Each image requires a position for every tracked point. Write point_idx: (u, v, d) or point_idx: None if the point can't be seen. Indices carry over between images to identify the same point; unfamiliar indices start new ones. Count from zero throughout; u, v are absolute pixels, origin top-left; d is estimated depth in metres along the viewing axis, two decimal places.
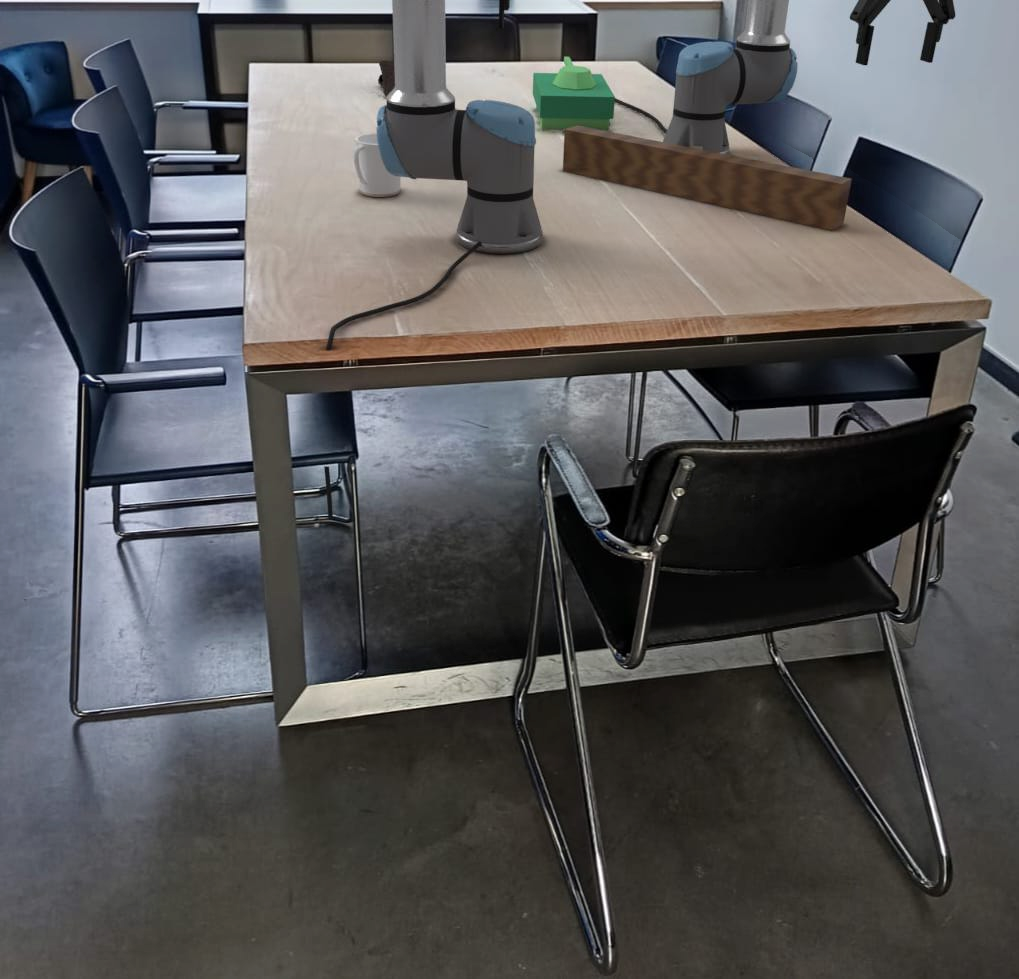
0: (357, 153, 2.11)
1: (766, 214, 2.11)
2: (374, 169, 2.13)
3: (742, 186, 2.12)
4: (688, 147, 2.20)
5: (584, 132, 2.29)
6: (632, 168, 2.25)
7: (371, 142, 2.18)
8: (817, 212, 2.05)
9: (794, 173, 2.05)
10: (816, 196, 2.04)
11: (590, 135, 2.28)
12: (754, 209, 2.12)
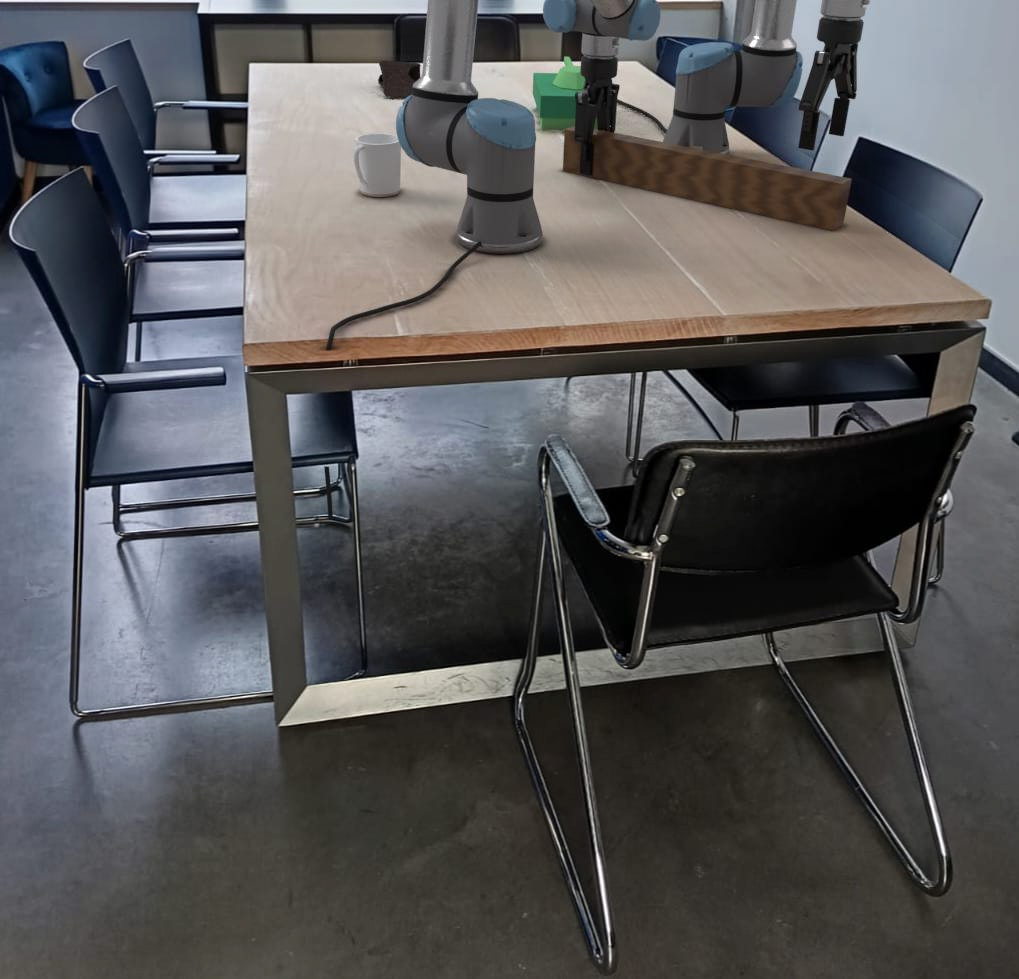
0: (357, 153, 2.11)
1: (766, 214, 2.11)
2: (374, 169, 2.13)
3: (742, 186, 2.12)
4: (688, 147, 2.20)
5: None
6: (632, 168, 2.25)
7: (371, 142, 2.18)
8: (817, 212, 2.05)
9: (794, 173, 2.05)
10: (816, 196, 2.04)
11: None
12: (754, 209, 2.12)
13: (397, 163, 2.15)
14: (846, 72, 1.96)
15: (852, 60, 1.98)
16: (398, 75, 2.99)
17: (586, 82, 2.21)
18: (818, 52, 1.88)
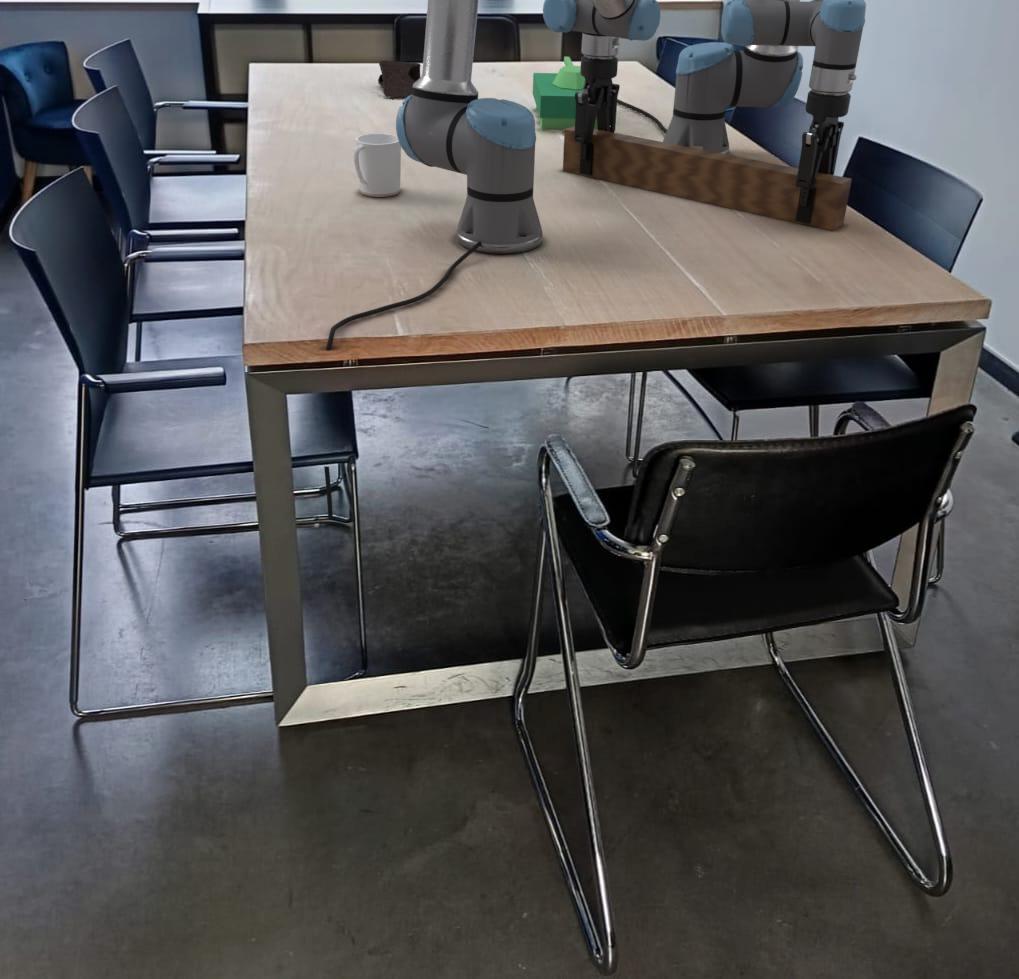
0: (357, 153, 2.11)
1: (766, 214, 2.11)
2: (374, 169, 2.13)
3: (742, 186, 2.12)
4: (688, 147, 2.20)
5: None
6: (632, 168, 2.25)
7: (371, 142, 2.18)
8: (817, 212, 2.05)
9: (794, 173, 2.05)
10: (816, 196, 2.04)
11: None
12: (754, 209, 2.12)
13: (397, 163, 2.15)
14: (830, 146, 2.02)
15: (836, 137, 2.04)
16: (398, 75, 2.99)
17: (586, 82, 2.21)
18: (805, 135, 1.96)
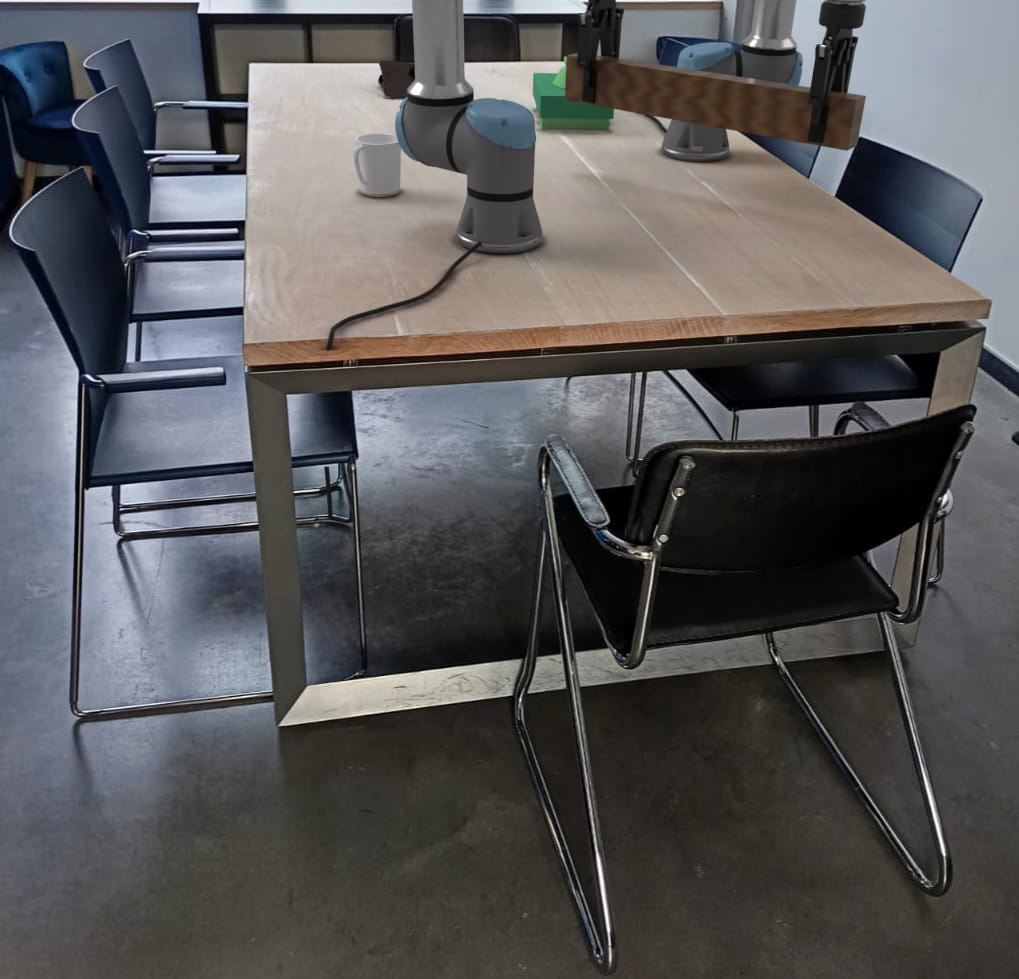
0: (357, 153, 2.11)
1: (776, 136, 2.03)
2: (374, 169, 2.13)
3: (751, 108, 2.04)
4: (695, 70, 2.12)
5: None
6: (637, 94, 2.17)
7: (371, 142, 2.18)
8: (830, 132, 1.97)
9: (806, 91, 1.97)
10: (829, 114, 1.96)
11: None
12: (764, 131, 2.04)
13: (397, 163, 2.15)
14: (844, 61, 1.94)
15: (850, 53, 1.96)
16: (398, 75, 2.99)
17: (589, 3, 2.14)
18: (818, 47, 1.88)
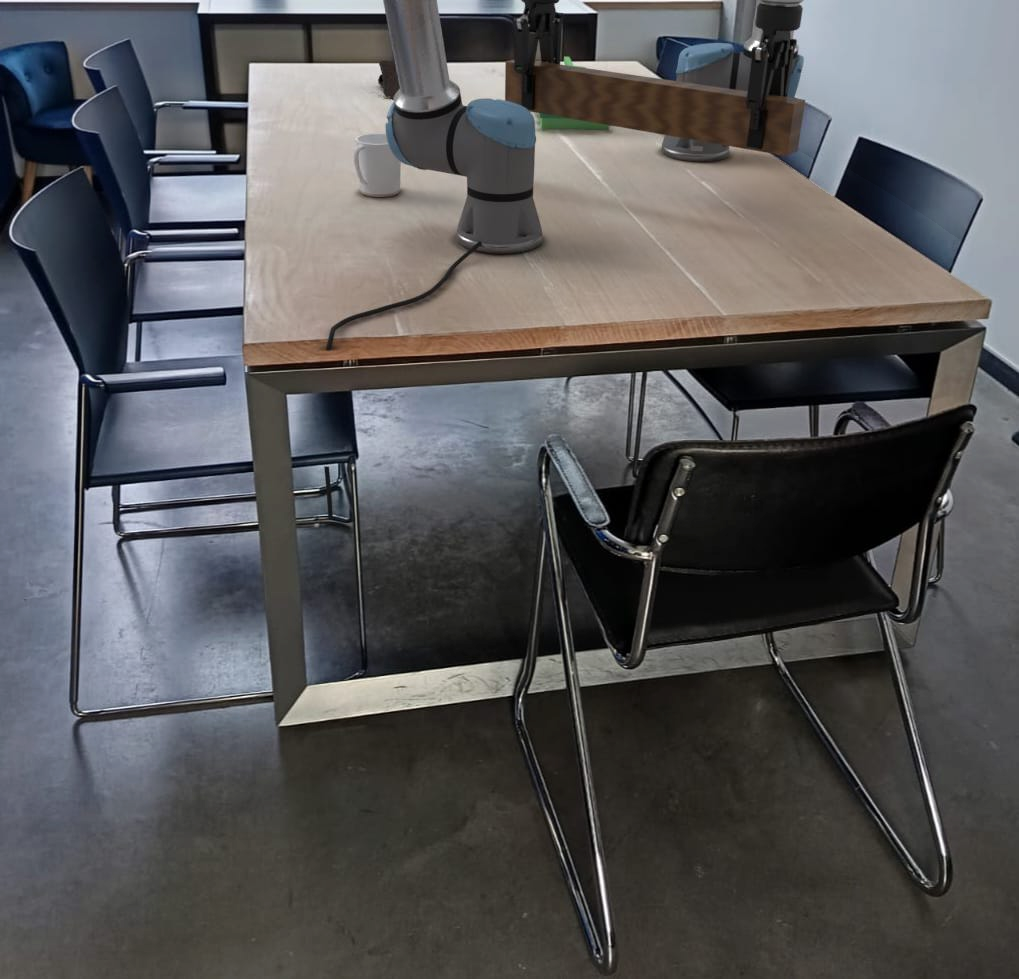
0: (357, 153, 2.11)
1: (716, 142, 1.98)
2: (374, 169, 2.13)
3: (690, 113, 1.99)
4: (634, 75, 2.07)
5: None
6: (576, 100, 2.12)
7: (371, 142, 2.18)
8: (769, 137, 1.92)
9: (744, 95, 1.92)
10: (767, 119, 1.91)
11: None
12: (703, 136, 1.99)
13: (397, 163, 2.15)
14: (782, 64, 1.89)
15: (789, 56, 1.91)
16: None
17: (526, 7, 2.09)
18: (754, 50, 1.83)
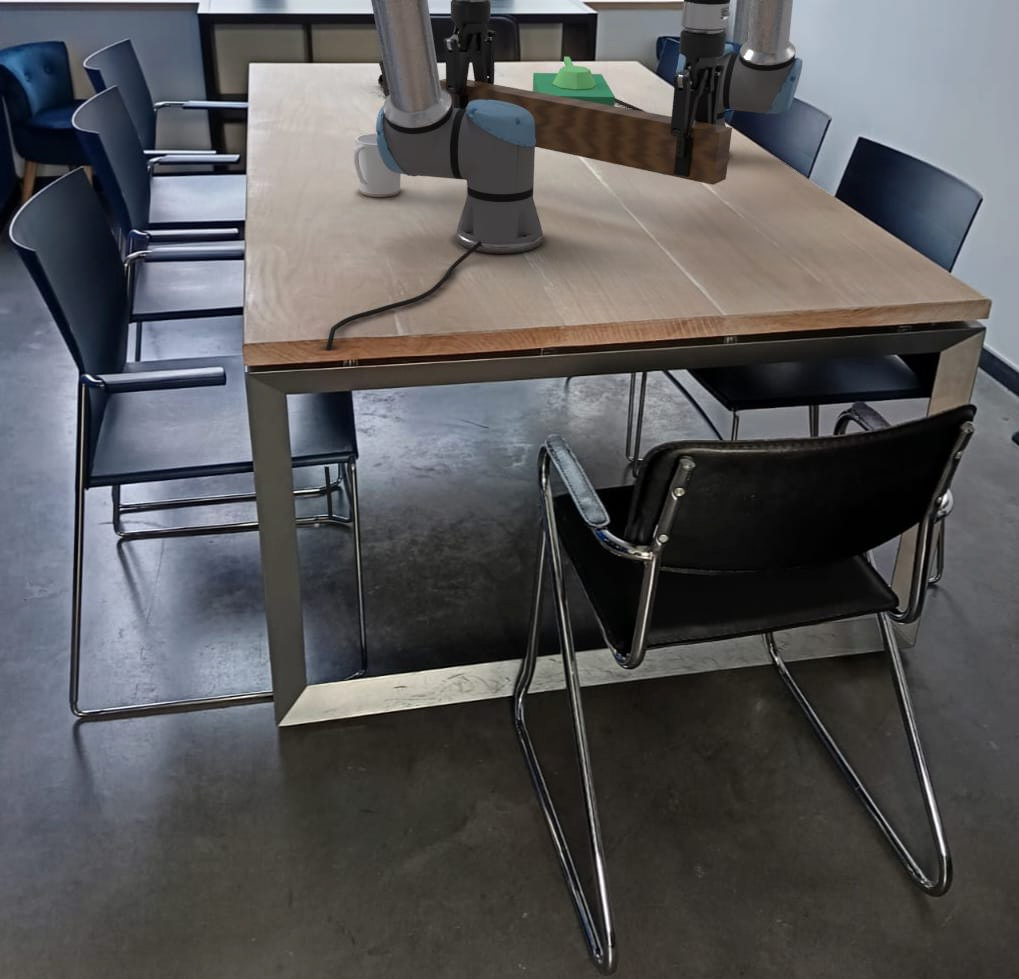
0: (357, 153, 2.11)
1: (644, 168, 1.95)
2: (374, 169, 2.13)
3: (618, 138, 1.95)
4: (565, 97, 2.03)
5: None
6: None
7: (371, 142, 2.18)
8: (696, 165, 1.88)
9: None
10: (694, 147, 1.87)
11: None
12: (632, 162, 1.96)
13: None
14: (708, 91, 1.85)
15: (716, 82, 1.87)
16: None
17: (456, 27, 2.05)
18: (676, 77, 1.79)
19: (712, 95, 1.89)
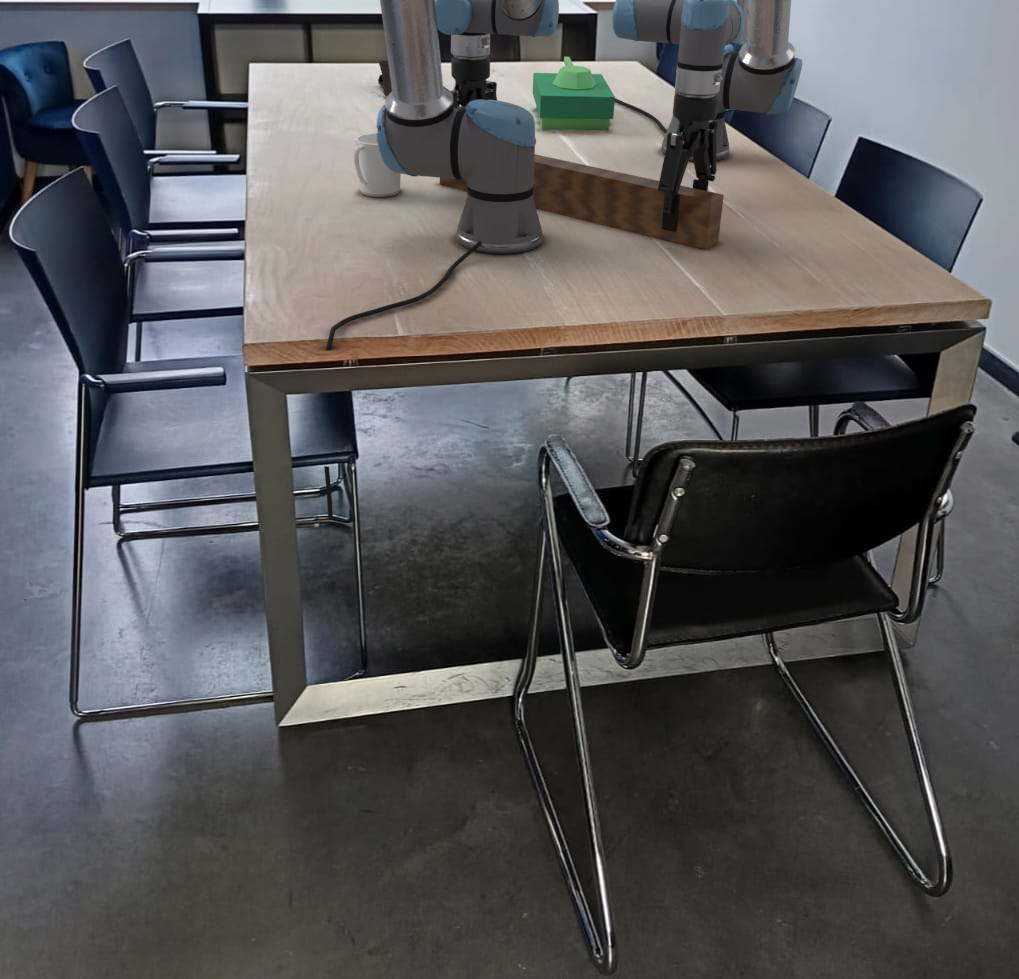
0: (357, 153, 2.11)
1: (639, 231, 2.01)
2: (374, 169, 2.13)
3: (614, 202, 2.01)
4: (562, 160, 2.09)
5: None
6: None
7: (371, 142, 2.18)
8: (689, 230, 1.94)
9: None
10: (687, 213, 1.93)
11: None
12: (627, 225, 2.02)
13: None
14: (704, 150, 1.91)
15: (711, 138, 1.93)
16: None
17: (456, 84, 2.10)
18: (670, 135, 1.84)
19: (709, 149, 1.95)
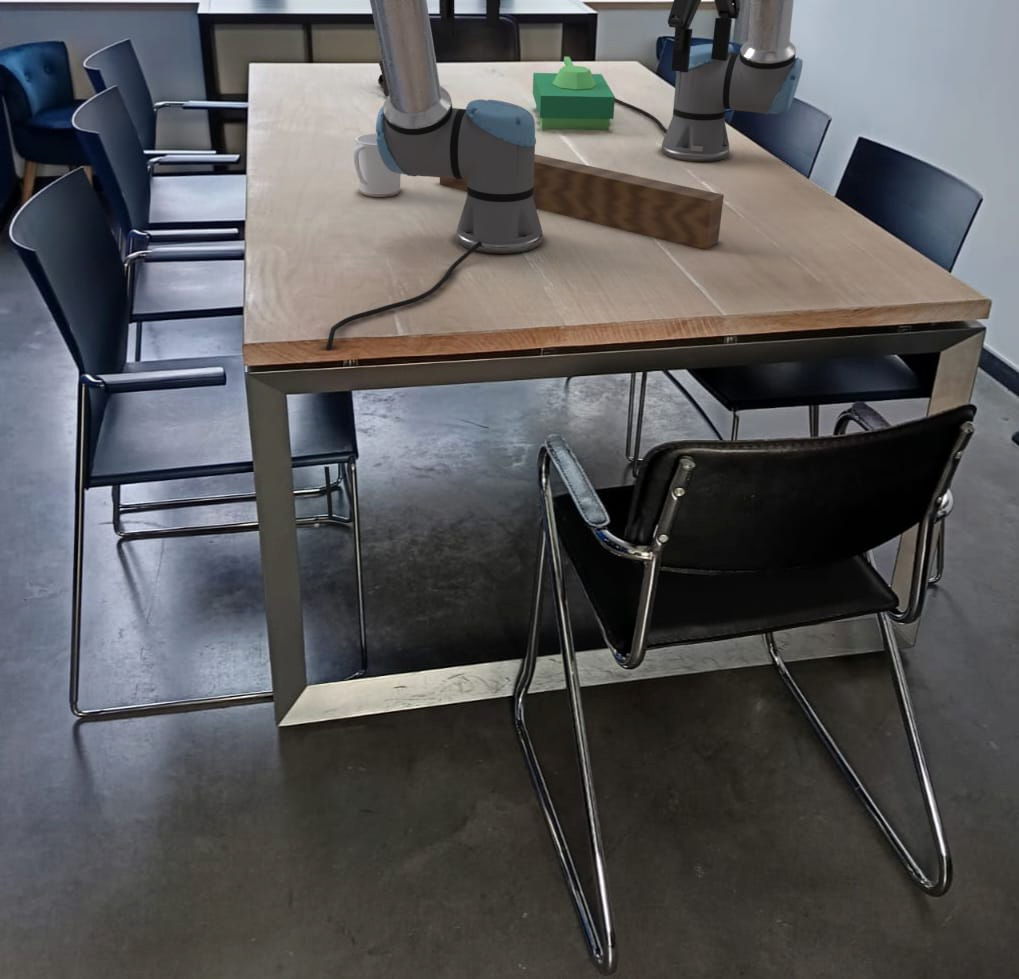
0: (357, 153, 2.11)
1: (639, 231, 2.01)
2: (374, 169, 2.13)
3: (614, 202, 2.01)
4: (562, 160, 2.09)
5: None
6: None
7: (371, 142, 2.18)
8: (689, 230, 1.94)
9: (664, 189, 1.95)
10: (687, 213, 1.93)
11: None
12: (627, 225, 2.02)
13: None
14: None
15: None
16: None
17: None
18: None
19: None
